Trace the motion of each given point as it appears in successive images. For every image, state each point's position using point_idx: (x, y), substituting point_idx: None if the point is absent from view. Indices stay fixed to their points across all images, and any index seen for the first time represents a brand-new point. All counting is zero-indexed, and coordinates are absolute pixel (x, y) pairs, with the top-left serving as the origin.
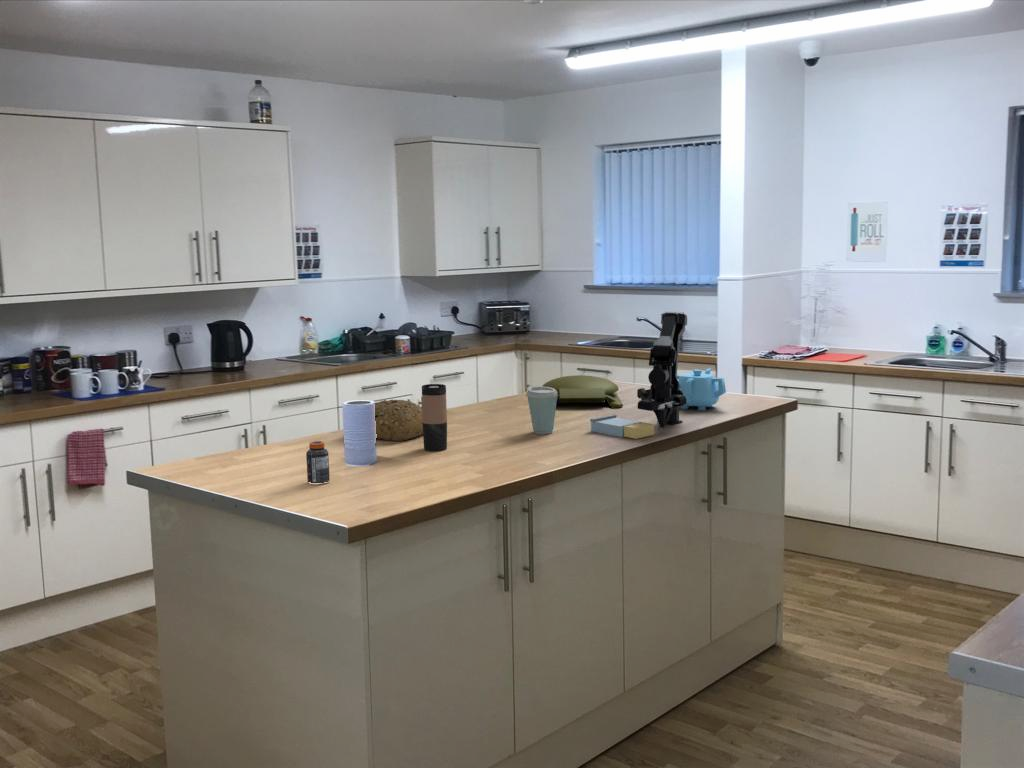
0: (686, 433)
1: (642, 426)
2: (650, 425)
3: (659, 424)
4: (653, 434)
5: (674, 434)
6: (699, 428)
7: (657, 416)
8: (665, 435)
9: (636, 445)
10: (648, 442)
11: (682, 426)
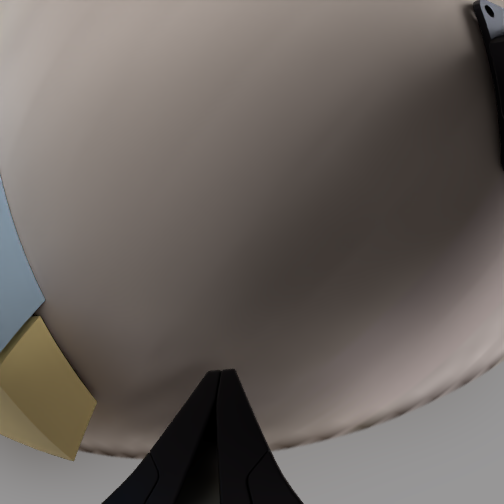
0: (326, 439)
1: (1, 432)
2: (46, 450)
3: (192, 400)
4: (91, 403)
5: None
6: (485, 363)
7: (143, 483)
8: None
9: None
10: None
11: (501, 271)
